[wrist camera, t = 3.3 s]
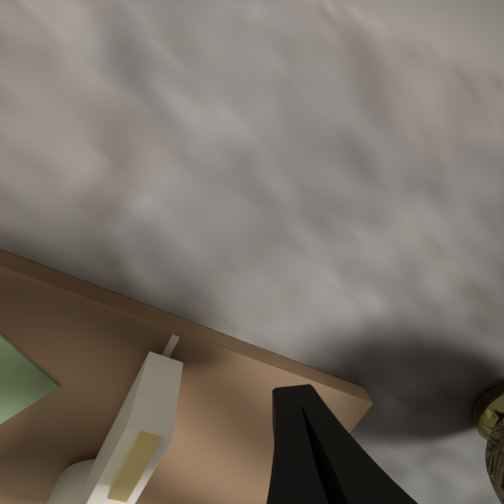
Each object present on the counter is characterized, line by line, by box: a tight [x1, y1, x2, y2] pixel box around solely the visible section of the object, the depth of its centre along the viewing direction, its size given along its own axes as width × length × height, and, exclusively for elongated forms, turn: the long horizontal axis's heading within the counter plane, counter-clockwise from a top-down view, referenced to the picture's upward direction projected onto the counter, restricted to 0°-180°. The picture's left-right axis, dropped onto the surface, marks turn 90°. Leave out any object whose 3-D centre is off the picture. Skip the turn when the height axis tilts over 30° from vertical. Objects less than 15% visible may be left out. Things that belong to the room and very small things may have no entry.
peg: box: [46, 352, 183, 504], centre depth 12 cm, size 10×4×4 cm, turn 152°
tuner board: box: [0, 249, 373, 504], centre depth 15 cm, size 18×20×1 cm
